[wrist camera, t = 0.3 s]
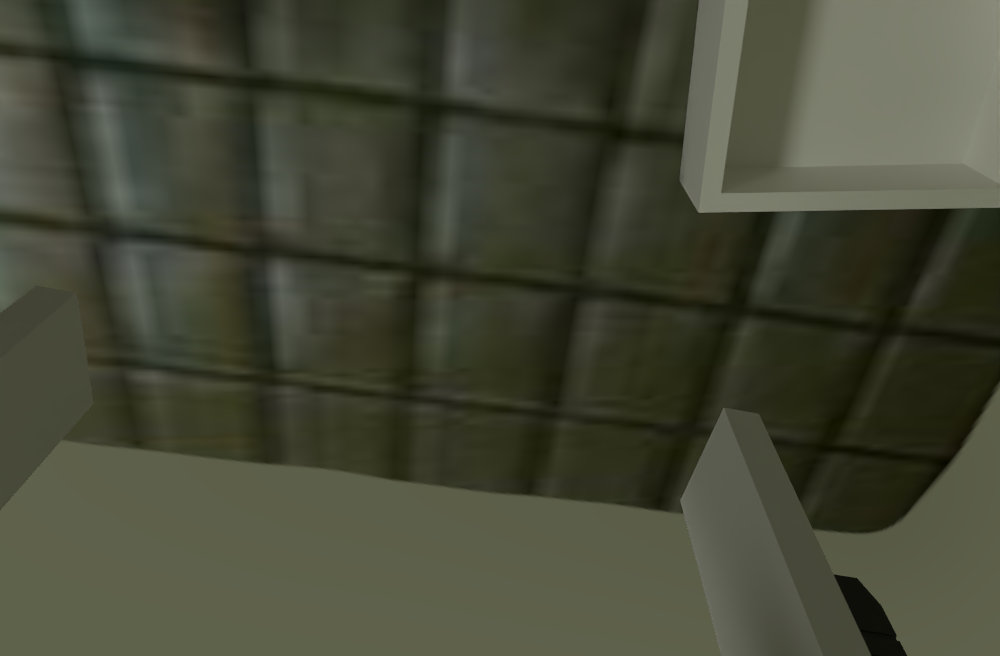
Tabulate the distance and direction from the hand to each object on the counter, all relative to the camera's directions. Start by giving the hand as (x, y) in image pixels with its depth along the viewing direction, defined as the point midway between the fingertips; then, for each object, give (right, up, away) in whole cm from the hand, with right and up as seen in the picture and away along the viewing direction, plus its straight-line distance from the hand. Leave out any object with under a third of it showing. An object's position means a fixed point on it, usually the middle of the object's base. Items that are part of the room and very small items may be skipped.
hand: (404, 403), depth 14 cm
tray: (+20, +16, +21) cm, 33 cm away
